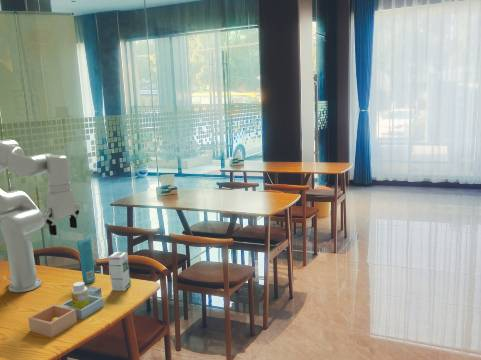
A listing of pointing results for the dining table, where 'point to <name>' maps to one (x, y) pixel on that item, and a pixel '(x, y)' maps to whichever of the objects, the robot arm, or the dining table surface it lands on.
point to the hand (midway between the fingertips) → (63, 231)
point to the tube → (86, 259)
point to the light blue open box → (93, 306)
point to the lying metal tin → (94, 291)
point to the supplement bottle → (80, 295)
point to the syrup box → (119, 271)
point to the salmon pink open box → (46, 327)
